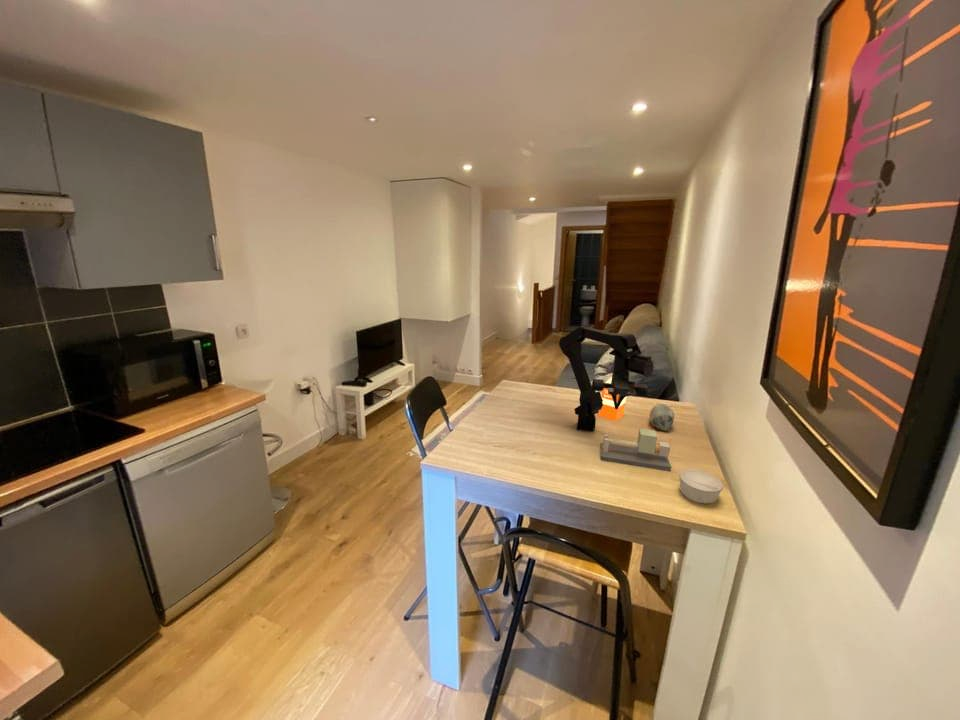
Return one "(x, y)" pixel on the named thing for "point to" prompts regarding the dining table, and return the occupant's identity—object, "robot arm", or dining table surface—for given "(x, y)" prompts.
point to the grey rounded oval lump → (662, 417)
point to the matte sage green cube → (647, 441)
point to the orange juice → (611, 405)
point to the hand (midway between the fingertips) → (616, 408)
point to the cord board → (634, 454)
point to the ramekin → (700, 486)
